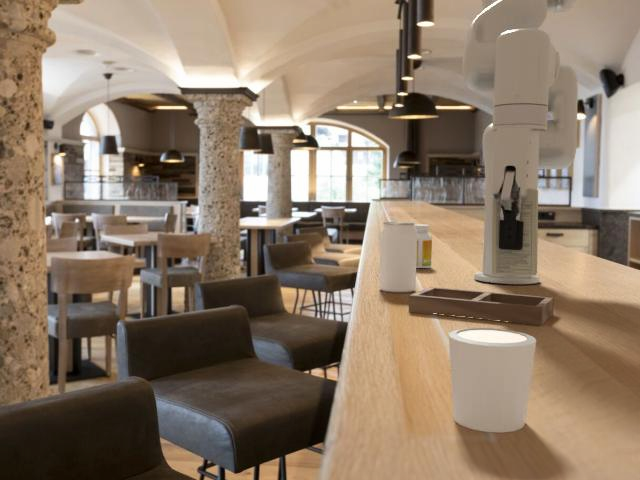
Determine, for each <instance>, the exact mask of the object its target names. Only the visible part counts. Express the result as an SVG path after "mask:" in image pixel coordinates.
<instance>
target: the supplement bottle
mask: <svg viewBox="0 0 640 480" xmlns="http://www.w3.org/2000/svg"><path fill="white" fill-rule="evenodd" d="M415 228H416V231H417V260H416V268H427V269H431V267H432V251H433V238H432V235H431V234H430V233H429V232H430V225H429V224H424V223H423V224H418V223H417V224H416V223H415Z"/></svg>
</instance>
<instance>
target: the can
mask: <svg viewBox="0 0 640 480" xmlns="http://www.w3.org/2000/svg"><path fill="white" fill-rule="evenodd" d="M415 224H416V223H415V222H404V221H403V222H402V221H388V222H387V221H384V222H383V225H382V228H381V229H380V238H379V239H380V241H379V268H378V269H379V273H378V275H379V277H378V280H379V281H378V285H379V286H378V287H379V289H380V291H381V292H385V293H391V294H409V293H414V291H415V290H416V286H417V285H416V283H417V269H416V260H417V231H416V228H415Z"/></svg>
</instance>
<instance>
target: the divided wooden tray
mask: <svg viewBox="0 0 640 480" xmlns="http://www.w3.org/2000/svg"><path fill="white" fill-rule="evenodd" d="M554 300H555V298H554V296H553V297H549V296H540V295H528V294H527V295H526V294H518V293H517V294H515V293H508V292H507V293H505V292H504V293H503V292H496V291H495V292H494V291H492V292H491V291H482V290H469V289H459V288H446V287H435V286H429V287H426V288H424V289H422V290H419V291H417V292H415V293H414V292H413V293H412V294H409V295H408V313H414V314H423V315H424V314H426V315H432V314H433V313H437V314H444V315H455V316H465V317H473V318H482V319H490V320H500V321H508V322H516V323H515V324H518V323H525V324H524V325H527V324H534V325H533V326H537V325H542V324H543V325H544V324H545V323H546V322H547V321H548V320H549V319H550V318H551V317H552V316H553V315H554V302H555V301H554ZM508 322H507V323H508ZM543 325H542V326H543Z"/></svg>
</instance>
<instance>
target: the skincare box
mask: <svg viewBox="0 0 640 480" xmlns="http://www.w3.org/2000/svg"><path fill="white" fill-rule="evenodd" d="M499 193H502V189H500V191H499ZM519 193H520V189H519ZM495 197H496V198H498V199H494V198H493V197H492V274H505V275H509V274H510V275H537V274H538V243H539V242H538V241H539V240H538V239H539V238H538V237H539V236H538V235H539V231H538V230H539V190H538V188H537V189H531V190H530V193H529V197H528V198H527V199H525V200H523V207H522V218H521V221H524V224H523V247H522V249H521V250H508V249H500V248H499V226H500V212H501V202H502V201H501V194H495ZM513 198H519V195H516V194H513ZM516 209H517V206H516Z"/></svg>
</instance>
